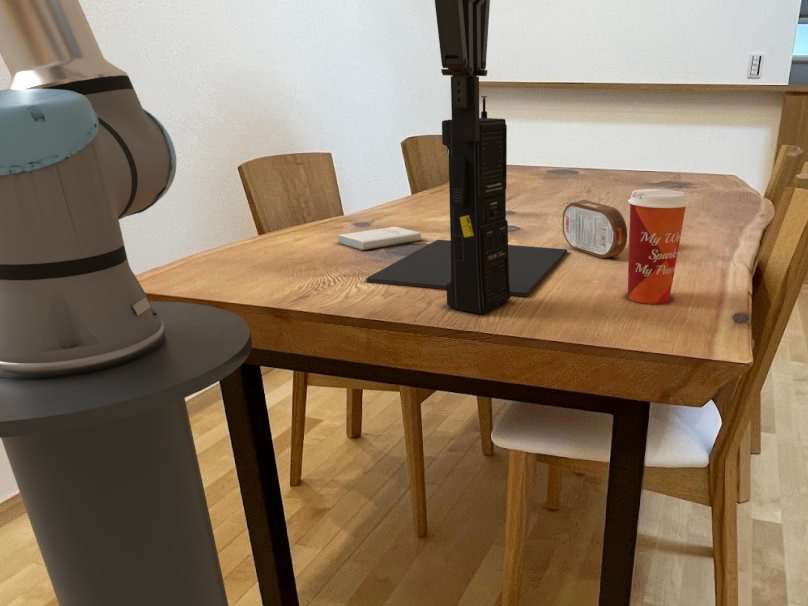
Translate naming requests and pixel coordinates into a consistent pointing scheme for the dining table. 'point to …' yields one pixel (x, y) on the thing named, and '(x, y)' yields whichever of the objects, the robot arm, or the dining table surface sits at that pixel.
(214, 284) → the dining table surface
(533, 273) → the mat
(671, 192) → the paper cup
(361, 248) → the hard drive
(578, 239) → the tin
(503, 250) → the portable radio
